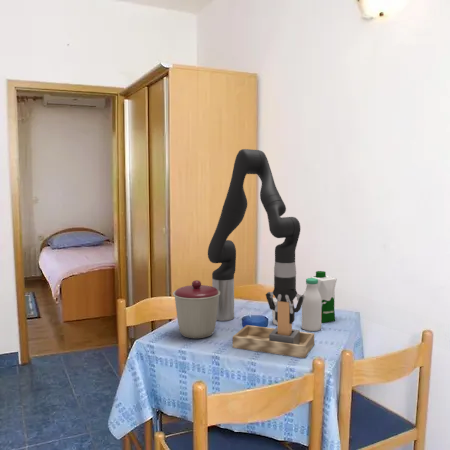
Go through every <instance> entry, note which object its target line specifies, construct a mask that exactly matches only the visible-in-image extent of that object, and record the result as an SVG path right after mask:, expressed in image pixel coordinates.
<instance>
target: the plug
mask: <svg viewBox="0 0 450 450" xmlns="http://www.w3.org/2000/svg"><path fill="white" fill-rule="evenodd" d="M289 322H290V310H289V302H284V301H278V325H277V327H278V334H280V335H288V336H290V334H291V333H292V329H293V328H292V327H293V323H292V324H290V323H289Z"/></svg>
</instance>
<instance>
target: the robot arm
mask: <svg viewBox="0 0 450 450" xmlns="http://www.w3.org/2000/svg"><path fill="white" fill-rule="evenodd" d="M232 169H233V170H232V174H231V179H230V183H229V187H228V189H227V193H226V196H225V199H224V202H223V206H222V209H221V212H220V216H219V219H218V222H217V224H216V228H215V230H214V233H213V235H212V237H211V240H210V242H209V245H208V248H207V258H208V261H210V263H212V264H220V265H219V266H218V268H216V269H214V270H213V271H212V274H211V278H212V279H211V280H212V284H211V285H212V286H211V287H214V288H216V289H217V290H219V291H220V295H219V297H218V308H217V317H216V321H222V322H223V321H232V320H233V319H235V273H236V263H237V262H236V261H237V249H236V245H235V243H234V241H232V240H229V239H228V238H229V236H230V235H231V234H232V232H234V231H235V230H236V229H237V228H238V226H240V224H241V223H242V221H243V220H244V218H245V214H246V212H247V210H248V209H247V208H248V200H247V199H248V198H247V196H246V193H245V189H244V183H245V179H246V176H247V175H257V177H259V179H260V181H261V187H260V193H259V199H260V201H261V203H262V206H263V208H264V210H265V212H266V214H267V221H268V228H269V232H270V234H271V235H272V236H273V237H274V238H277V239H284V240H283V242H282V243H279V244H277V245H276V246H275V248H274V267H273V279H274V281H273V287H274V288H273V290H272V291H268V292H267V293H266V294H265V297H266V300H267V304H268V307H269V309H270V310H271V311H272V310H274V311H275V320H277V322H278V301H284V302H289V310H290V322H289V323H290V324H292V325H293V323H294V322H295V319H296V317H295V316H296V315H295V313H299V311H301V309H302V303H303V300H304V297H305V296H304V295H303V294H302V295H301V294H299V293H298V292H297V266H296V250H297V246H298V241H299V238H300V234H301V223H300V221H299V219H298V218H297V217H295V216H287V217H286V216H283V215H284V214H285V213H286V211H287V207H286V204H285V202H284V200H283V198H282V197H281V195H280V193H279V190H278V188H277V186H276V183H275V179H274V177H273V176H274V175H273V172H272V170H271V166H270V163H269V160H268V158H267V156H266V154H265V152H264V151H263V150H259V149H249V148H243V149H240V150H239V151H238V152H237V154H236V157H235V160H234V164H233V168H232ZM282 216H283V217H282ZM273 298H276V299H277V302H276V306H275V304H274V301H273ZM295 299H296V300H297V304H296V306H295V303H294V300H295Z"/></svg>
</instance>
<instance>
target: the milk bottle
mask: <svg viewBox="0 0 450 450" xmlns="http://www.w3.org/2000/svg"><path fill="white" fill-rule="evenodd" d="M305 285H306V286H305V291H304V293H303V294H302V295H304V296H305V297H304V300H303V303H302V306H301V328H302V330H304V331H306V332H307V331H308V332H317V331H320V330H322V329H321V328H322V323H321V321H322V301H321V296H320V293H319V291H318V288H317V285H318V279H316V278H311V277H307V278H305Z"/></svg>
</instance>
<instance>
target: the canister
mask: <svg viewBox="0 0 450 450" xmlns="http://www.w3.org/2000/svg"><path fill="white" fill-rule="evenodd" d="M219 295H220V291H219V290H217V289H216V288H214V287H212V286H210V285H205V284H202V282H201V281H200V280H198V279H196V280H193V281H192V282H191V285H185V286H182V287H179V288H177V289H176V290H174V291H173V292H172V296H173V297H174V301H175V309H176V310H175V311H176V317H177V323H178V329H179V333H180V334H181V335H182V336H183V337H185V338H189V339H203V338H207V337H210V336H211V335H213V333H214V332H215V331H216V330H215V329H216V325H217V320H216V317H217V308H218V297H219Z"/></svg>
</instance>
